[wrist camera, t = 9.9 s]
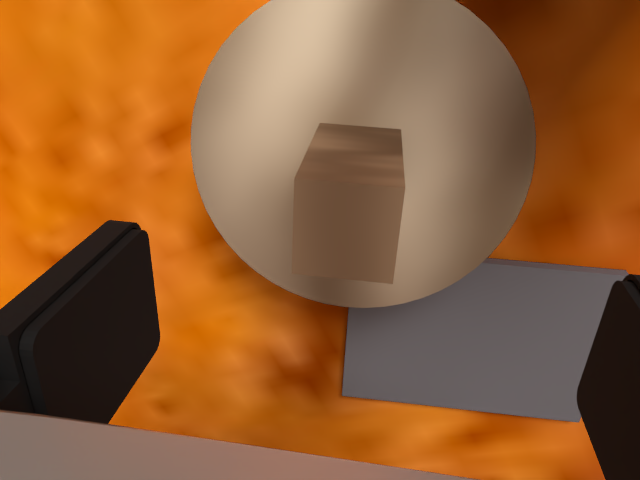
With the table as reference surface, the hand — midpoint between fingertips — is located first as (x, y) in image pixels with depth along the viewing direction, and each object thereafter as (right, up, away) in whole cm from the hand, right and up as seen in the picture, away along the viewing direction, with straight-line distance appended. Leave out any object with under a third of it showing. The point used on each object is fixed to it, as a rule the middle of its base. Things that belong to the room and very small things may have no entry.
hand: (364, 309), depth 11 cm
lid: (+1, +5, +10) cm, 11 cm away
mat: (+8, -4, +19) cm, 21 cm away
